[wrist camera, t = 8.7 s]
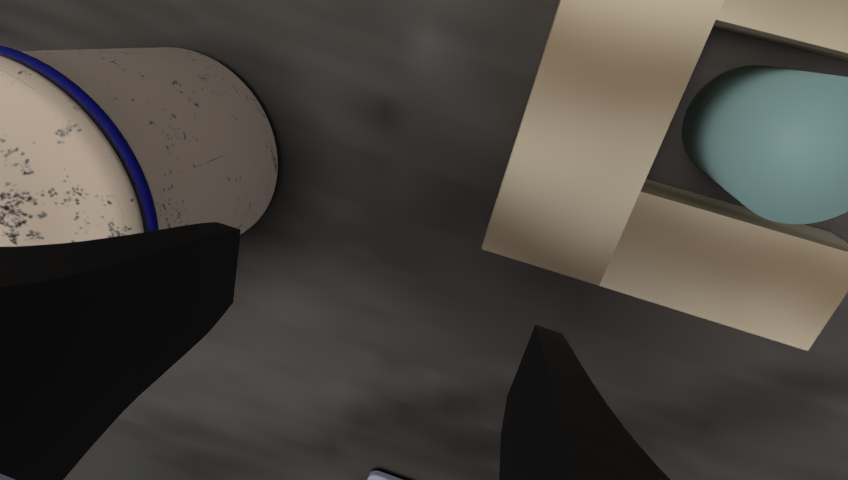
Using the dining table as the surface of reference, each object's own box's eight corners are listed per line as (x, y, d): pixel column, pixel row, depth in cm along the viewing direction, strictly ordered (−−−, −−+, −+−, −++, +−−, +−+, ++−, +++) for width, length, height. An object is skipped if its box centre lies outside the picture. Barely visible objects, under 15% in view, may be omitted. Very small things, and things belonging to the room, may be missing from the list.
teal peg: (771, 192, 19) (844, 242, 14) (663, 162, 19) (701, 200, 15) (831, 83, 17) (936, 99, 13) (712, 52, 18) (772, 57, 13)
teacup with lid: (130, -2, 21) (-277, -41, 11) (319, 113, 21) (101, 187, 11) (73, 226, 26) (-244, 355, 16) (226, 319, 26) (15, 509, 16)
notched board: (778, 316, 20) (808, 350, 18) (487, 226, 22) (481, 249, 19) (1003, -47, 15) (1084, -62, 13) (604, -139, 16) (614, -167, 14)
